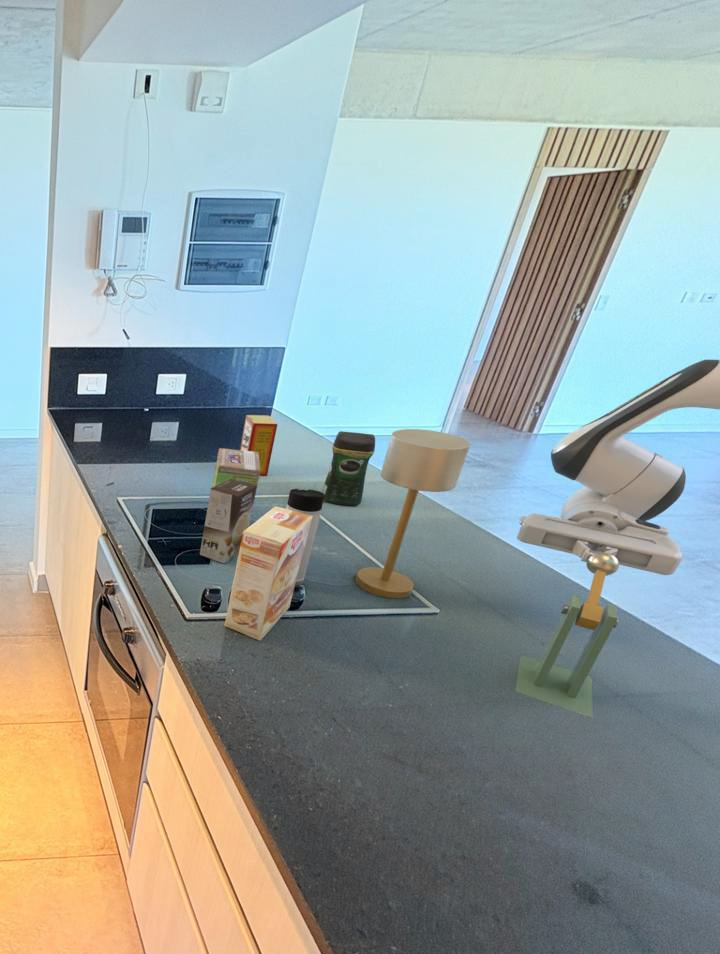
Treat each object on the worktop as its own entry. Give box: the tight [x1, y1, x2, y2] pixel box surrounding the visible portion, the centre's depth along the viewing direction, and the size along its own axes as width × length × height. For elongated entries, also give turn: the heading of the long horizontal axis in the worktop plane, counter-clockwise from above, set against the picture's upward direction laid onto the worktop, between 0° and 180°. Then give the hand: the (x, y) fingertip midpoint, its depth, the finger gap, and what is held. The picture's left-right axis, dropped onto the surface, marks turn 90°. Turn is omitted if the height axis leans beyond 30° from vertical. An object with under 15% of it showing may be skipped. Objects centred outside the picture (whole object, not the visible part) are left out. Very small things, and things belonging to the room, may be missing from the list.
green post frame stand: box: [515, 593, 620, 719], centre depth 93 cm, size 12×9×16 cm
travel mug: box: [285, 488, 325, 586], centre depth 123 cm, size 6×7×20 cm
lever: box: [574, 552, 620, 631], centre depth 92 cm, size 13×4×4 cm
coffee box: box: [199, 479, 258, 565], centre depth 134 cm, size 9×6×16 cm
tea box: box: [211, 447, 261, 488], centre depth 155 cm, size 15×10×15 cm
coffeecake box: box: [224, 505, 313, 641], centre depth 111 cm, size 15×7×20 cm, turn 137°
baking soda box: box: [239, 414, 278, 477], centre depth 182 cm, size 10×6×16 cm
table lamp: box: [355, 428, 471, 599], centre depth 118 cm, size 12×12×31 cm
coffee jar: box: [321, 430, 376, 506], centre depth 160 cm, size 10×8×19 cm
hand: (595, 559), depth 99 cm, fingers closed
